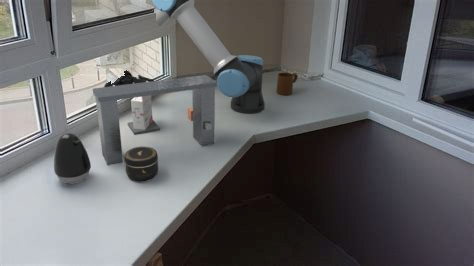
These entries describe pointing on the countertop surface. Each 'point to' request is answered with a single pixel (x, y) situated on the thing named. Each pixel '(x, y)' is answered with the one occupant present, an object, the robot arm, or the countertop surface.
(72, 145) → the black egg-shaped piece
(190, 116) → the terracotta clay block
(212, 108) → the grey gantry arch
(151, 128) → the mat
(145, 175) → the jar
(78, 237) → the countertop surface
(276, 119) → the countertop surface
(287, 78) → the mug
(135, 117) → the ink cartridge box
